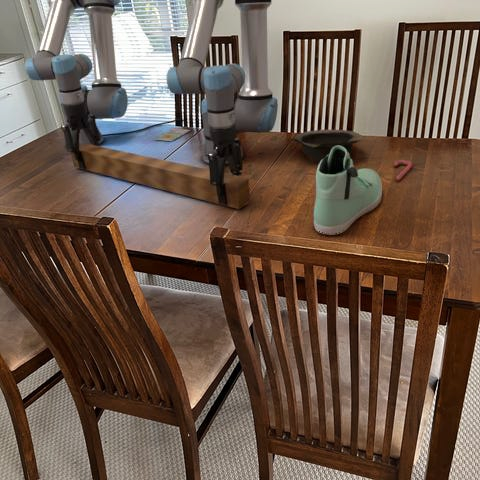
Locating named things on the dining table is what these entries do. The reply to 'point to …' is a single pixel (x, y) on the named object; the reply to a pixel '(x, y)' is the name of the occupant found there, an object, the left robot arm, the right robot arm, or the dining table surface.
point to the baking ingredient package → (172, 134)
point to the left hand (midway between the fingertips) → (89, 164)
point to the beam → (162, 174)
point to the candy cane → (404, 169)
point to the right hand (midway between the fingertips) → (229, 199)
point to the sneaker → (343, 192)
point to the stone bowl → (325, 142)
